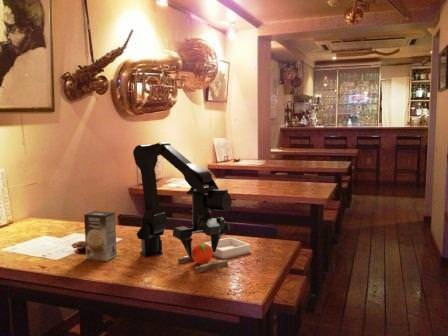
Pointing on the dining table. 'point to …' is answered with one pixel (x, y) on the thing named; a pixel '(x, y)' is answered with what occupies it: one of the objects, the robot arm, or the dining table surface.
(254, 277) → the dining table surface
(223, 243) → the bin
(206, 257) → the clementine
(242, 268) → the dining table surface
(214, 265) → the cradle
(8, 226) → the dining table surface
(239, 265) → the dining table surface
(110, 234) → the coffee box
